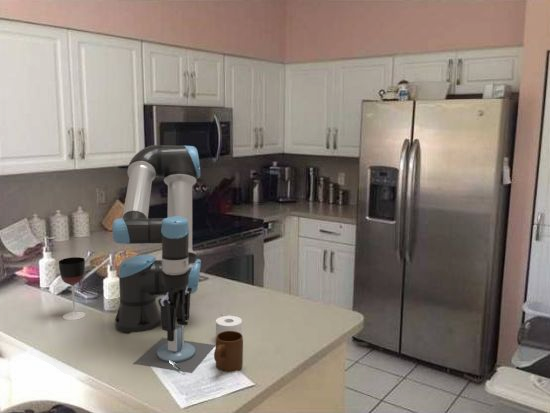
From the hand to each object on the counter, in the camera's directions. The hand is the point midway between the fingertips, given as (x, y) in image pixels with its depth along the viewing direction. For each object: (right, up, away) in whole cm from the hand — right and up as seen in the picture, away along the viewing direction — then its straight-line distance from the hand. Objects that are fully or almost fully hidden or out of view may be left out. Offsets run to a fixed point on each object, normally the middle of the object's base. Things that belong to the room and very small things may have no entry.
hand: (176, 347), depth 147 cm
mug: (+15, -5, -7) cm, 18 cm away
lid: (0, -2, 0) cm, 2 cm away
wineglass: (-41, +3, +28) cm, 50 cm away
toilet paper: (+15, -1, +13) cm, 20 cm away
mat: (0, -3, 0) cm, 3 cm away
